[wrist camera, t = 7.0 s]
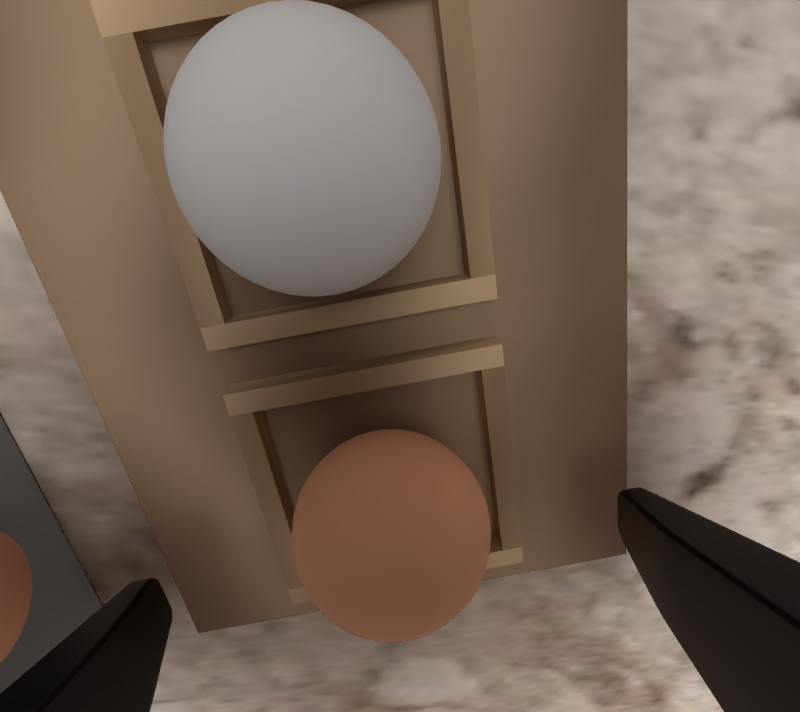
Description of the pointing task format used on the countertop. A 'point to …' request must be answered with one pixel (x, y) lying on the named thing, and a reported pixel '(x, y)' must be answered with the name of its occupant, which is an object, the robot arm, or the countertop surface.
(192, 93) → the grey ball
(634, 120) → the countertop surface
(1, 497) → the card
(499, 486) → the rack
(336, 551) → the terracotta ball
